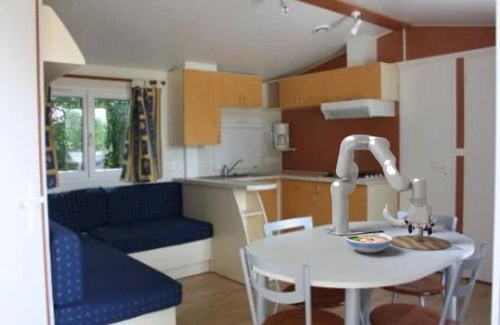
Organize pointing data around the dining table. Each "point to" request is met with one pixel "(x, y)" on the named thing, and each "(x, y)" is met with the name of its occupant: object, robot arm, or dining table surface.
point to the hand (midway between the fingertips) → (419, 234)
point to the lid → (420, 241)
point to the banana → (390, 219)
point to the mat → (452, 247)
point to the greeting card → (425, 227)
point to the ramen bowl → (368, 241)
